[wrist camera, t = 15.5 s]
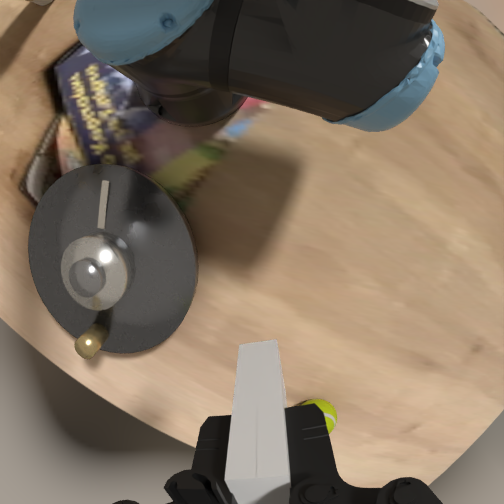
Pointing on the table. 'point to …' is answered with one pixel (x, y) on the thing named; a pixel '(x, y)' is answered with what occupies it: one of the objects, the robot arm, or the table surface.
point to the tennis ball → (326, 412)
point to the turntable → (140, 244)
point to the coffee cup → (41, 2)
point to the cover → (98, 270)
